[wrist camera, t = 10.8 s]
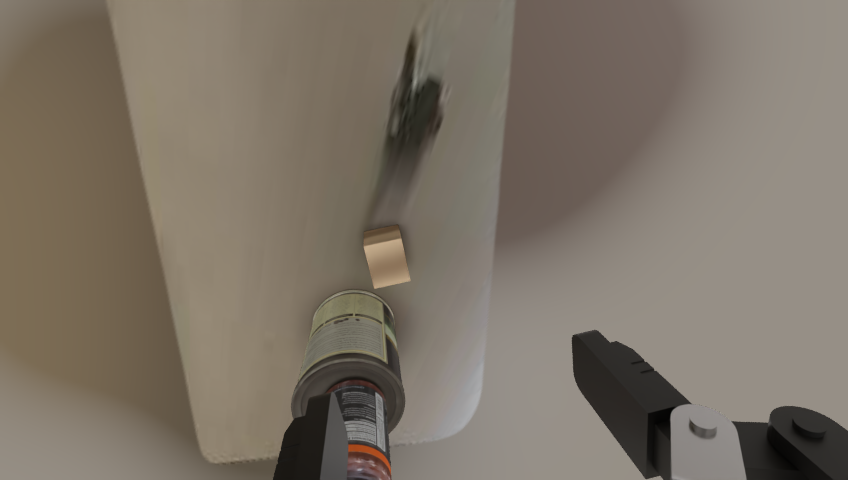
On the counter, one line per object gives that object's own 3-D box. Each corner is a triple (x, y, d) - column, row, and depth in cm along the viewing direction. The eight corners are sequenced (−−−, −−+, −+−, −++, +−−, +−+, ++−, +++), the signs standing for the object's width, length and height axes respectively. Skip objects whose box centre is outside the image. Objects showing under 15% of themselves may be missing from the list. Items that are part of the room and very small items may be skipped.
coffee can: (412, 322, 50) (427, 401, 37) (355, 373, 51) (351, 467, 38) (353, 272, 46) (347, 338, 33) (294, 327, 48) (265, 412, 35)
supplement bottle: (370, 435, 37) (371, 568, 26) (310, 419, 35) (285, 553, 25) (397, 387, 36) (409, 506, 25) (335, 367, 34) (321, 486, 23)
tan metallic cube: (364, 231, 45) (363, 246, 40) (397, 224, 45) (401, 238, 41) (373, 270, 47) (374, 288, 42) (406, 263, 47) (410, 280, 42)
